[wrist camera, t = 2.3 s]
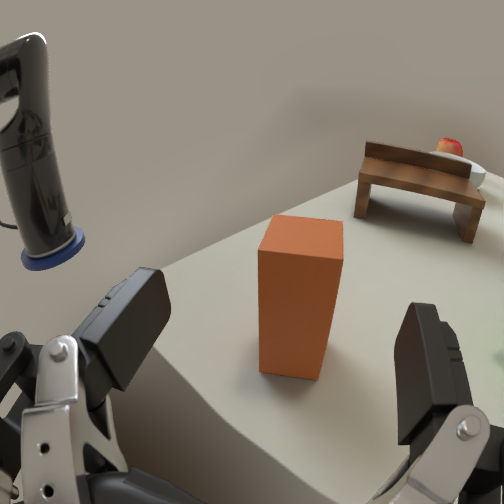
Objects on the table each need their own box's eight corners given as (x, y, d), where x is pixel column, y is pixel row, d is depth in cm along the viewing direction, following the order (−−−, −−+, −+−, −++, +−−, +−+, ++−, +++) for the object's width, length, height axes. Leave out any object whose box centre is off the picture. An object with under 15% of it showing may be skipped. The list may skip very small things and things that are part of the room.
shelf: (353, 218, 48) (360, 154, 42) (360, 192, 59) (366, 140, 53) (472, 244, 40) (490, 183, 35) (459, 213, 51) (470, 163, 45)
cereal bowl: (425, 186, 64) (430, 158, 60) (425, 170, 76) (428, 147, 72) (485, 203, 57) (491, 177, 53) (475, 185, 69) (480, 162, 65)
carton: (259, 371, 24) (257, 249, 18) (271, 330, 28) (273, 214, 22) (317, 380, 23) (343, 259, 17) (323, 337, 27) (342, 221, 21)
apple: (434, 161, 87) (438, 134, 82) (458, 168, 83) (463, 141, 77) (433, 167, 81) (438, 137, 75) (460, 174, 76) (465, 145, 71)
